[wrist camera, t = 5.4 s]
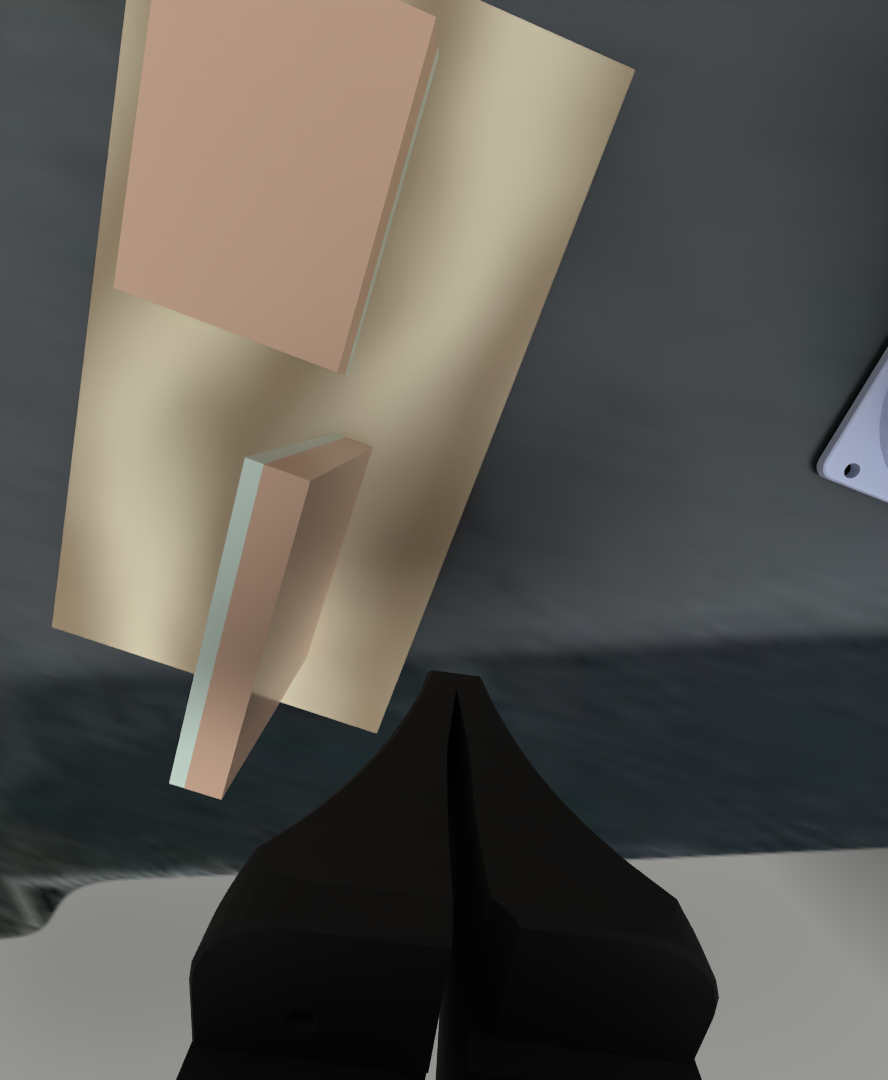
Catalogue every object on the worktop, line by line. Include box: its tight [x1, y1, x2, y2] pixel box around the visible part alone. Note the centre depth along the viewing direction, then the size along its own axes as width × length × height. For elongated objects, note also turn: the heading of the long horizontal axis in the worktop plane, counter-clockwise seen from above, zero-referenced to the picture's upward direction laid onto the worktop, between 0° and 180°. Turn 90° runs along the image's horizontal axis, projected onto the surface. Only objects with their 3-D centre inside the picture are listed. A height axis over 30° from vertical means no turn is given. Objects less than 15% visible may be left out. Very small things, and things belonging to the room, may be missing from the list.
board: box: [52, 0, 635, 733], centre depth 16 cm, size 14×24×1 cm, turn 160°
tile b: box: [169, 433, 373, 799], centre depth 14 cm, size 1×9×7 cm, turn 160°
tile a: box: [114, 0, 439, 375], centre depth 13 cm, size 1×9×7 cm
